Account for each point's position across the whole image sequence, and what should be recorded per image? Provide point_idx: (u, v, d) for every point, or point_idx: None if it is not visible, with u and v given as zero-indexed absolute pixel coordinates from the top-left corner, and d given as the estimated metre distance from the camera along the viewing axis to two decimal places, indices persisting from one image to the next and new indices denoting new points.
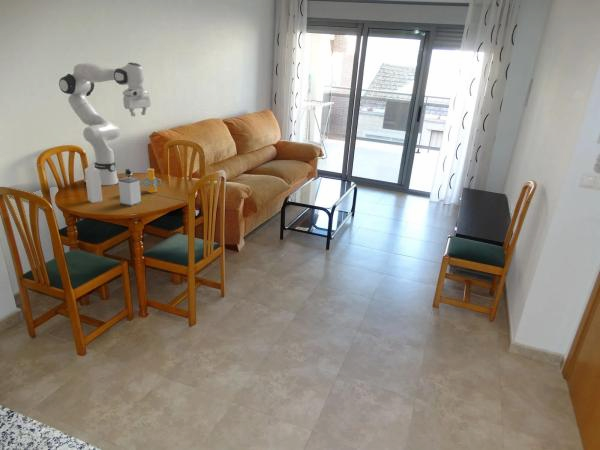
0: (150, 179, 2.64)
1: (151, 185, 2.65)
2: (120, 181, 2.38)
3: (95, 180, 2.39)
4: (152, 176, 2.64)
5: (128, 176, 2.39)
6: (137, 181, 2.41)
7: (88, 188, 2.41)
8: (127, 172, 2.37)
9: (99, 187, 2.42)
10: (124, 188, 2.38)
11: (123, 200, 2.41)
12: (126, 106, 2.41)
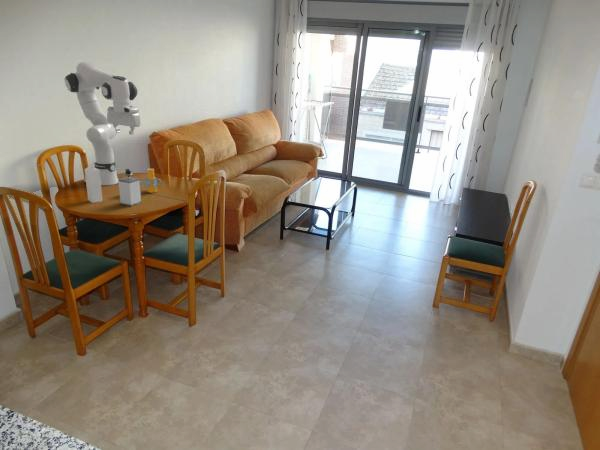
0: (150, 179, 2.64)
1: (151, 185, 2.65)
2: (120, 181, 2.38)
3: (95, 180, 2.39)
4: (152, 176, 2.64)
5: (128, 176, 2.39)
6: (137, 181, 2.41)
7: (88, 188, 2.41)
8: (127, 172, 2.37)
9: (99, 187, 2.42)
10: (124, 188, 2.38)
11: (123, 200, 2.41)
12: (138, 124, 2.25)
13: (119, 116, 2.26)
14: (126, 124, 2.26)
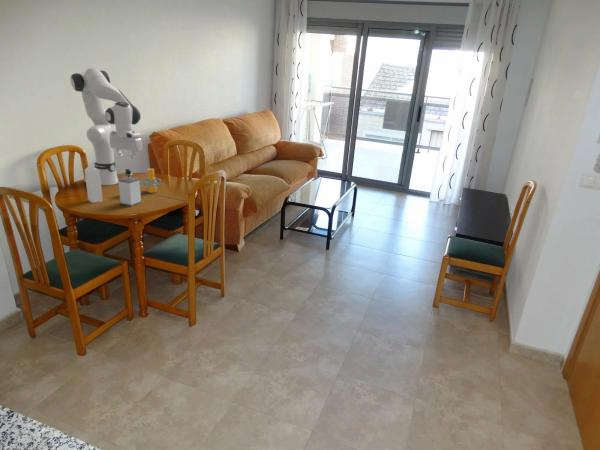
0: (150, 179, 2.64)
1: (151, 185, 2.65)
2: (120, 181, 2.38)
3: (95, 180, 2.39)
4: (152, 176, 2.64)
5: (128, 176, 2.39)
6: (137, 181, 2.41)
7: (88, 188, 2.41)
8: (127, 172, 2.37)
9: (99, 187, 2.42)
10: (124, 188, 2.38)
11: (123, 200, 2.41)
12: (140, 148, 2.30)
13: (122, 141, 2.31)
14: (128, 149, 2.31)
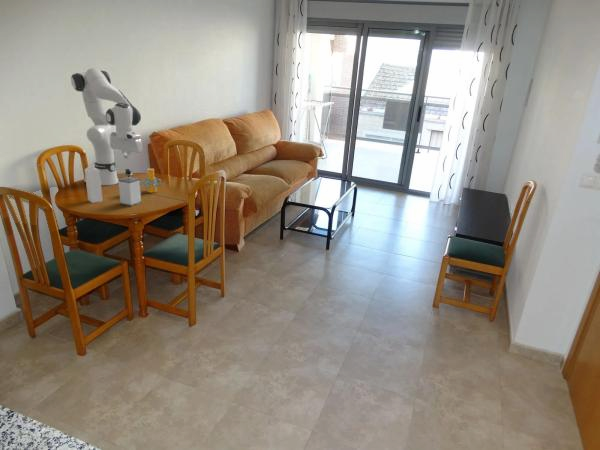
0: (150, 179, 2.64)
1: (151, 185, 2.65)
2: (120, 181, 2.38)
3: (95, 180, 2.39)
4: (152, 176, 2.64)
5: (128, 176, 2.39)
6: (137, 181, 2.41)
7: (88, 188, 2.41)
8: (127, 172, 2.37)
9: (99, 187, 2.42)
10: (124, 188, 2.38)
11: (123, 200, 2.41)
12: (140, 150, 2.30)
13: (122, 142, 2.31)
14: (128, 150, 2.31)
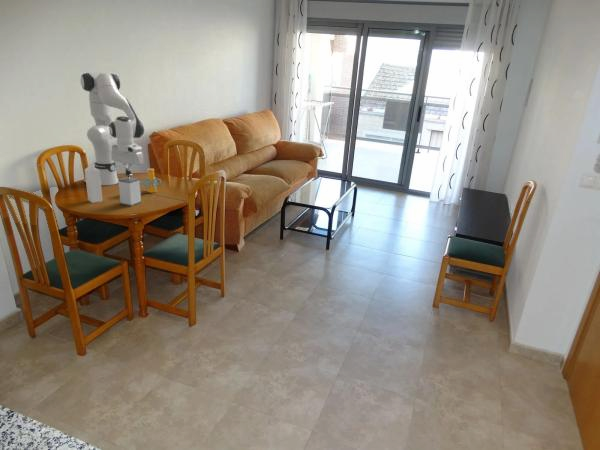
0: (150, 179, 2.64)
1: (151, 185, 2.65)
2: (120, 181, 2.38)
3: (95, 180, 2.39)
4: (152, 176, 2.64)
5: (128, 177, 2.39)
6: (137, 181, 2.41)
7: (88, 188, 2.41)
8: (127, 173, 2.37)
9: (99, 187, 2.42)
10: (124, 188, 2.38)
11: (123, 200, 2.41)
12: (141, 162, 2.33)
13: (123, 154, 2.34)
14: (129, 162, 2.33)
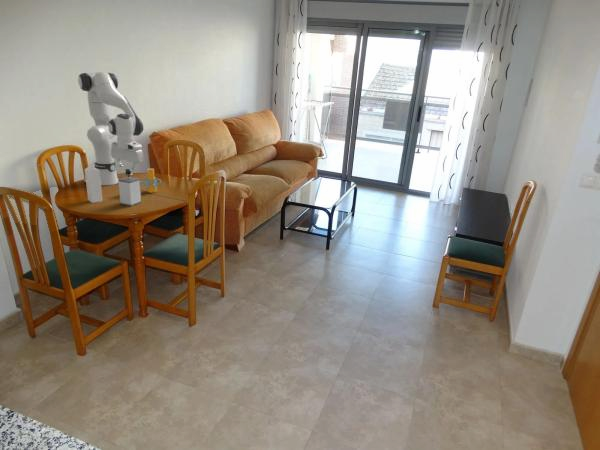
0: (150, 179, 2.64)
1: (151, 185, 2.65)
2: (120, 181, 2.38)
3: (95, 180, 2.39)
4: (152, 176, 2.64)
5: (128, 176, 2.39)
6: (137, 181, 2.41)
7: (88, 188, 2.41)
8: (127, 172, 2.37)
9: (99, 187, 2.42)
10: (124, 188, 2.38)
11: (123, 200, 2.41)
12: (141, 160, 2.32)
13: (123, 152, 2.33)
14: (129, 160, 2.33)
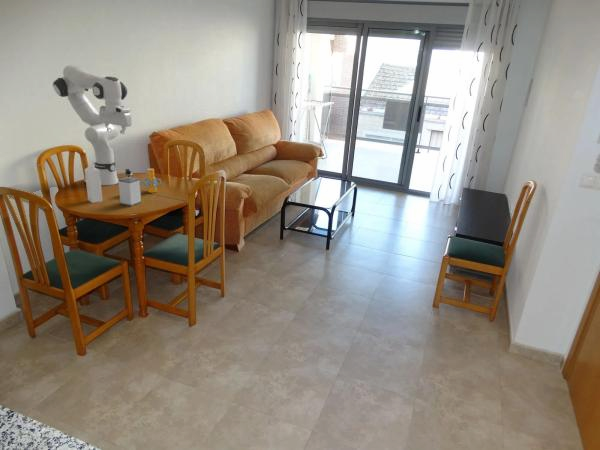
0: (150, 179, 2.64)
1: (151, 185, 2.65)
2: (120, 181, 2.38)
3: (95, 180, 2.39)
4: (152, 176, 2.64)
5: (128, 176, 2.39)
6: (137, 181, 2.41)
7: (88, 188, 2.41)
8: (127, 172, 2.37)
9: (99, 187, 2.42)
10: (124, 188, 2.38)
11: (123, 200, 2.41)
12: (129, 124, 2.31)
13: (111, 115, 2.32)
14: (117, 124, 2.32)
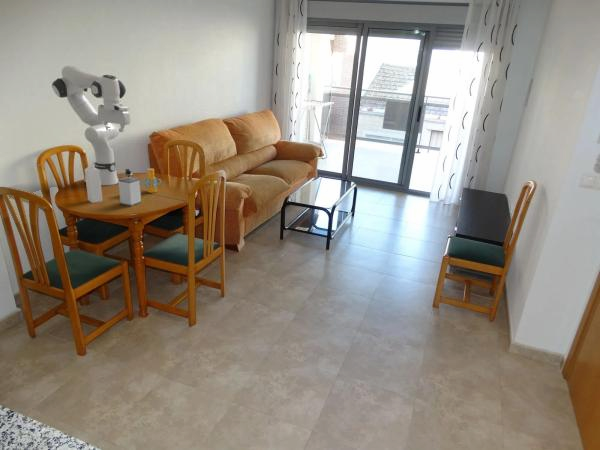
0: (150, 179, 2.64)
1: (151, 185, 2.65)
2: (120, 181, 2.38)
3: (95, 180, 2.39)
4: (152, 176, 2.64)
5: (128, 176, 2.39)
6: (137, 181, 2.41)
7: (88, 188, 2.41)
8: (127, 172, 2.37)
9: (99, 187, 2.42)
10: (124, 188, 2.38)
11: (123, 200, 2.41)
12: (128, 122, 2.31)
13: (109, 114, 2.32)
14: (116, 122, 2.31)
